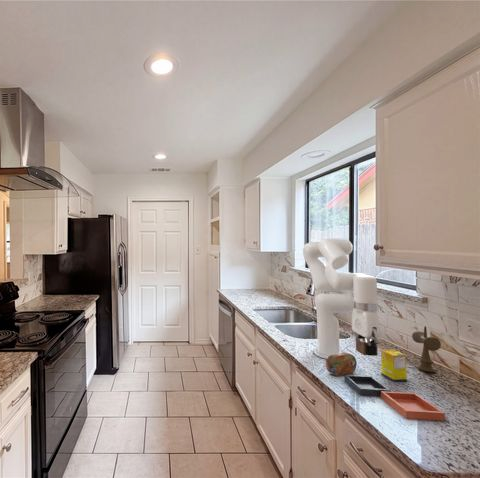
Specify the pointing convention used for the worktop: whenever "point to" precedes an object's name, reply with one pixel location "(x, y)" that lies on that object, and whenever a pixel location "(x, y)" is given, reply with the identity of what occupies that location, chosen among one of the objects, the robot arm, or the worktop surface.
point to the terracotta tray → (412, 406)
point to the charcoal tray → (365, 385)
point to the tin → (341, 364)
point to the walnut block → (363, 346)
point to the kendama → (426, 349)
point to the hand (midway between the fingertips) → (366, 351)
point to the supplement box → (393, 365)
